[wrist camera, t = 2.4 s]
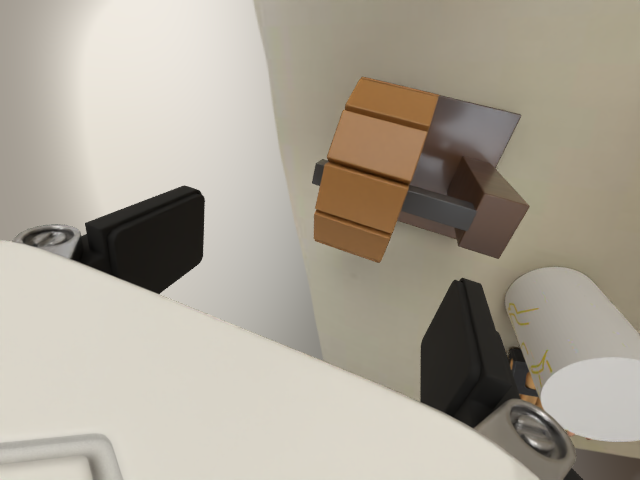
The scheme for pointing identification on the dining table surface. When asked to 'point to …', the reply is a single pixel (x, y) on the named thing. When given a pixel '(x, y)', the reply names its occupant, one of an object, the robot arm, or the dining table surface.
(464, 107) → the hook stand
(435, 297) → the dining table surface
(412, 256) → the dining table surface
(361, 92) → the segmented brown cylinder
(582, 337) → the cup
